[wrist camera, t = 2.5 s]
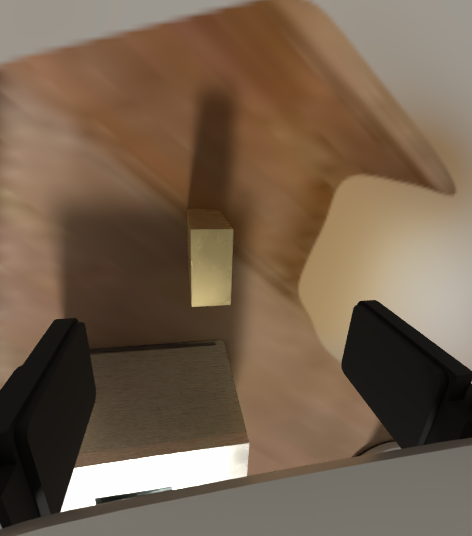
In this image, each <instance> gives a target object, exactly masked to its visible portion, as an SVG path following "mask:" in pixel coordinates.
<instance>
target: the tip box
mask: <svg viewBox="0 0 472 536" xmlns="http://www.w3.org/2000/svg"><path fill="white" fill-rule="evenodd" d="M89 351H90V357H91V363H92V368H93V374H94V380H95V386H96V400H95V403H94V407H93V410H92V413H91V416H90V419H89V423H88V426H87V429H86V432H85V435H84V438H83V442H82V445H81V448H80V451H79V454H78V458H77V461H76V464H75V467H74V470H73V474H72V477H71V480H70V483H69V486H68V489H67V493H66V496H65V499H64V502H63V505H62V509H61V512H64V511H68V510H72V509H77V508H82V507H87V506H92V505H97V504H102V503H107V502H112V501H117V500H122V499H127V498H132V497H137V496H142V495H147V494H152V493H158V492H163V491H168V490H174V489H179V488H185V487H190V486H196V485H201V484H207V483H212V482H218V481H223V480H229V479H234V478H239V477H245V476H247V465H248V453H249V440H248V436H247V432H246V428H245V424H244V420H243V416H242V412H241V408H240V404H239V400H238V396H237V392H236V388H235V384H234V380H233V376H232V372H231V368H230V363H229V359H228V355H227V351H226V347H225V343H224V340H211V341H198V342H184V343H171V344H157V345H144V346H130V347H117V348H104V349H90V350H89Z"/></svg>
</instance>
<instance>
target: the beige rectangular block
mask: <svg viewBox="0 0 472 536" xmlns="http://www.w3.org/2000/svg"><path fill="white" fill-rule="evenodd" d="M233 230H234V229H233V228H232V227H231V225H230V224H229V223H228V221H227V220H226V219H225V217H224V216H223V215H222V213H221V212H220V211H219V209H187V238H188V272H189V283H190V294H191V305H192V307H199V306H218V305H231V282H232V256H233Z"/></svg>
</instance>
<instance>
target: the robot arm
mask: <svg viewBox="0 0 472 536" xmlns="http://www.w3.org/2000/svg"><path fill="white" fill-rule="evenodd" d="M341 365H342V370H343V372H344V374H345V375H346V377H347V378H348V379H349V381H350V382H351V383H352V385H353V386H354V387H355V389H356V390H357V391H358V392H359V394H360V395H361V396H362V398H363V399H364V400H365V402H366V403H367V404H368V406H369V407H370V408H371V410H372V411H373V412H374V413H375V415H376V416H377V417H378V419H379V420H380V421H381V423H382V424H383V425H384V427H385V428H386V429H387V431H388V432H389V433H390V435H391V436H392V437H393V438H394V440H395V441H394V442H388V443H385V444H381V445H379V446H377V447H374V448H372V449H370V450H369V451H367V452H365V453H364V454H362V455H361V456H357V457H352V458H346V459H340V460H335V461H329V462H323V463H318V464H312V465H306V466H301V467H295V468H290V469H284V470H278V471H273V472H267V473H261V474H256V475H250V476H245V477H239V478H234V479H229V480H223V481H218V482H212V483H207V484H201V485H196V486H190V487H185V488H179V489H174V490H168V491H163V492H158V493H152V494H147V495H142V496H137V497H132V498H127V499H122V500H117V501H112V502H107V503H102V504H97V505H92V506H87V507H82V508H77V509H72V510H68V511H64V512H61V509H62V505H63V502H64V499H65V496H66V493H67V489H68V486H69V483H70V480H71V477H72V474H73V470H74V467H75V464H76V461H77V458H78V454H79V451H80V448H81V445H82V442H83V438H84V435H85V432H86V429H87V426H88V423H89V419H90V416H91V413H92V410H93V407H94V403H95V400H96V386H95V380H94V374H93V368H92V363H91V357H90V351H89V345H88V339H87V334H86V328H85V324H84V323H83V322H80V323H79V322H78V320H77V319H76V318H70V319H56V320H54V321H53V323H52V324H51V326H50V327H49V328H48V330H47V331H46V333H45V334H44V335H43V337H42V338H41V340H40V341H39V343H38V344H37V345H36V347H35V348H34V350H33V351H32V353H31V354H30V355H29V357H28V358H27V360H26V361H25V362H24V364H23V365H22V366H20V367H18V368H17V369H16V370H15V371H14V372H13V374H12V375H11V376H10V378H9V379H8V381H7V382H6V383H5V385H4V386H3V387H2V389H1V390H0V536H472V384H471V381H472V371H471V370H470V369H468V368H467V367H466V366H464V365H463V364H462V363H460V362H459V361H457V360H456V359H455V358H454V357H452V356H451V355H449V354H448V353H447V352H445V351H444V350H443V349H441V348H440V347H439V346H437V345H436V344H435V343H433V342H432V341H430V340H429V339H428V338H427V337H425V336H424V335H423V334H421V333H420V332H419V331H417V330H416V329H414V328H413V327H412V326H410V325H409V324H407V323H406V322H405V321H404V320H402V319H401V318H400V317H398V316H397V315H395V314H394V313H393V312H392V311H390V310H389V309H387V308H386V307H385V306H383V305H382V304H381V303H379V302H378V301H376V300H370V301H360V302H359V303H358V304H357V305H356V306H355V307H354V309H353V313H352V318H351V322H350V327H349V331H348V336H347V340H346V345H345V349H344V355H343V358H342V364H341Z"/></svg>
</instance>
